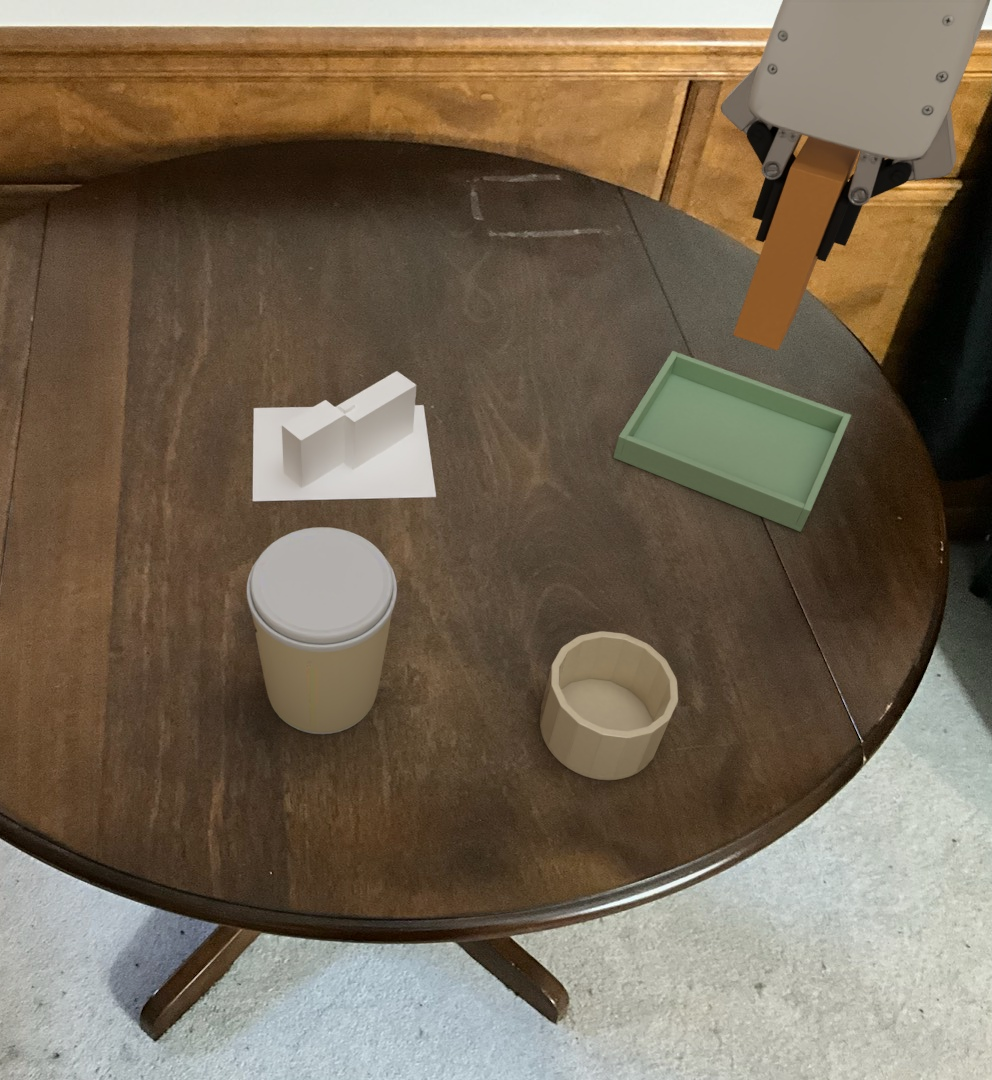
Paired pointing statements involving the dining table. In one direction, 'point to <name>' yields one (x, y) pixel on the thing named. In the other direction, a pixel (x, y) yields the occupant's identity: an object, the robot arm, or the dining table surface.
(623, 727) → the cup
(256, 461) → the napkin holder
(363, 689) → the coffee cup
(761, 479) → the tray
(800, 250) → the orange rectangular bar
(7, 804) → the dining table surface
